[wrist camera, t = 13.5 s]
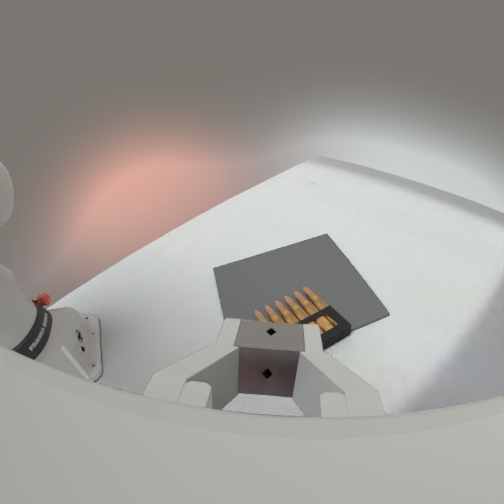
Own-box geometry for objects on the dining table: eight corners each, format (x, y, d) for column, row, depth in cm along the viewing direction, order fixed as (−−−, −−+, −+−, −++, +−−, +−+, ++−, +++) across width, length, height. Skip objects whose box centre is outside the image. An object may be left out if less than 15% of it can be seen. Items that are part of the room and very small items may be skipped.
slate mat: (213, 269, 59) (213, 268, 59) (327, 235, 61) (326, 233, 61) (236, 370, 40) (235, 369, 40) (389, 315, 41) (389, 313, 41)
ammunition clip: (351, 332, 40) (308, 288, 50) (351, 324, 39) (307, 280, 49) (286, 369, 38) (250, 316, 47) (284, 362, 37) (248, 308, 46)
